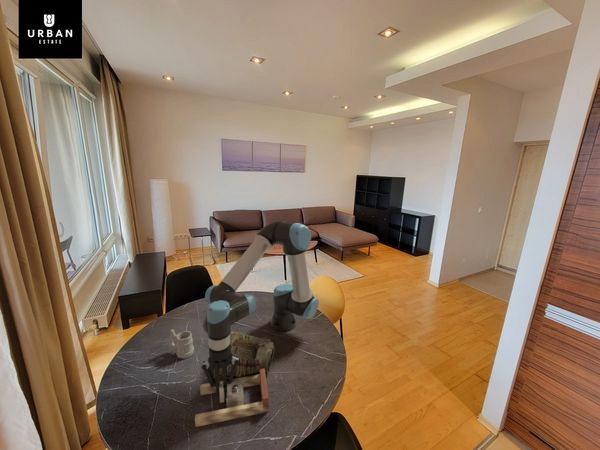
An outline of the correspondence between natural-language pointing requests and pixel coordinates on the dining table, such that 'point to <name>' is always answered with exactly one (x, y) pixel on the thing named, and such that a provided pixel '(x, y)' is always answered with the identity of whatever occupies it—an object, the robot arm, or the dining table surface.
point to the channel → (238, 410)
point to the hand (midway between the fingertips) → (222, 399)
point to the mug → (182, 344)
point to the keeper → (235, 394)
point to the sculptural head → (250, 354)
